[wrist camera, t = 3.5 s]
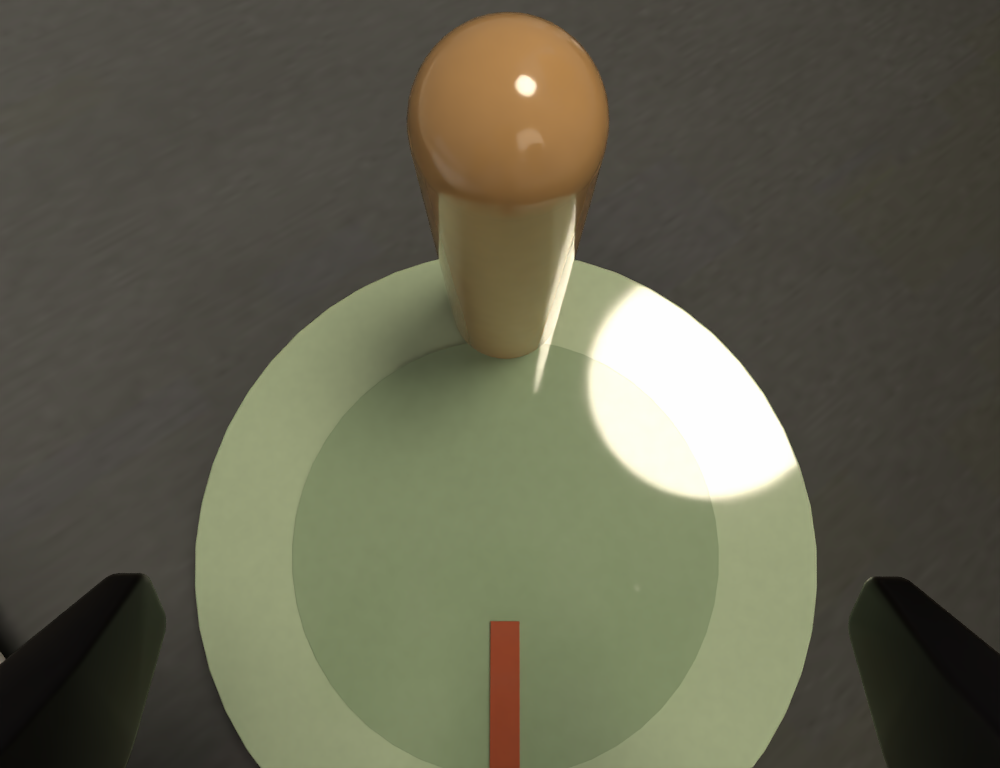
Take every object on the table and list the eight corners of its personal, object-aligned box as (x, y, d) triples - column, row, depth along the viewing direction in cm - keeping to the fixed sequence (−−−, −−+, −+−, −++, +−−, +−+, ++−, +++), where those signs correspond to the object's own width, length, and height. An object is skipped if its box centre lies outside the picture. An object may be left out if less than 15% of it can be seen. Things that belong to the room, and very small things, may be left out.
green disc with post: (826, 876, 19) (1434, 1561, 7) (183, 872, 19) (-410, 1539, 7) (781, 263, 22) (1133, -54, 10) (230, 261, 22) (-111, -53, 10)
